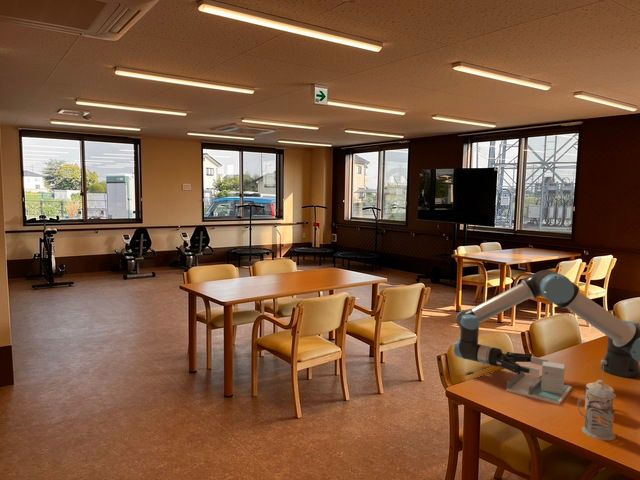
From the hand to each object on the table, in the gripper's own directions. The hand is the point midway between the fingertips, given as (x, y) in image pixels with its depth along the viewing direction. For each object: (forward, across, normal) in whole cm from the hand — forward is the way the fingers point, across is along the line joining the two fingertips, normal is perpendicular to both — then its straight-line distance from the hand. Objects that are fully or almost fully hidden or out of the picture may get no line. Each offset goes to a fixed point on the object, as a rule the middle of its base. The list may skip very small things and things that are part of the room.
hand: (543, 367), depth 194 cm
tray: (-2, 0, -10) cm, 10 cm away
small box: (+4, 0, -8) cm, 9 cm away
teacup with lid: (+21, +5, -10) cm, 24 cm away
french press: (+23, +25, -10) cm, 35 cm away
